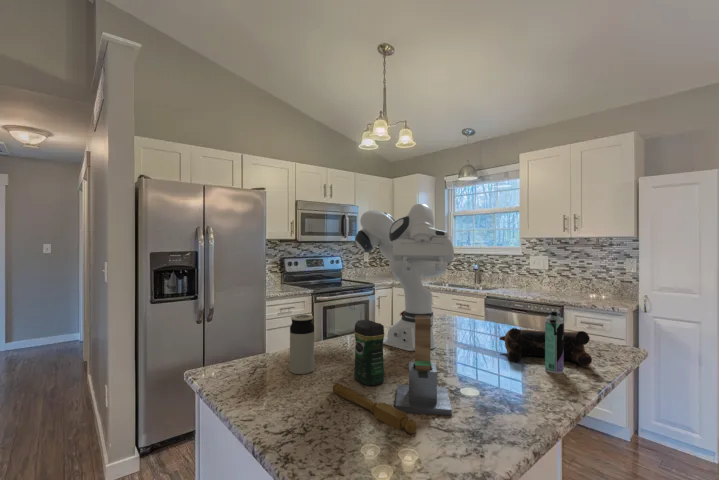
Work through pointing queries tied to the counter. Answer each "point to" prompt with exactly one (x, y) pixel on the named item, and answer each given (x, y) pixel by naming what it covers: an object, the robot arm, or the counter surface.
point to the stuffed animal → (534, 345)
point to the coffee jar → (369, 352)
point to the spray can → (554, 344)
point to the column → (422, 342)
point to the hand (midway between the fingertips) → (422, 269)
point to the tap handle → (378, 409)
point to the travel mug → (301, 344)
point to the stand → (423, 393)
